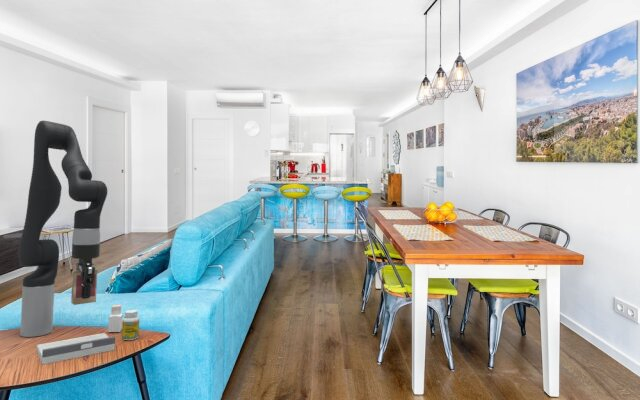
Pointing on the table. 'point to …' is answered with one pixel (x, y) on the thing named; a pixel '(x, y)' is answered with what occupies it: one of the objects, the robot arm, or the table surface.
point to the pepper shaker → (115, 319)
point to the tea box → (77, 289)
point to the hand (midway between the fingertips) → (84, 296)
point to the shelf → (75, 348)
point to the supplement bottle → (130, 325)
